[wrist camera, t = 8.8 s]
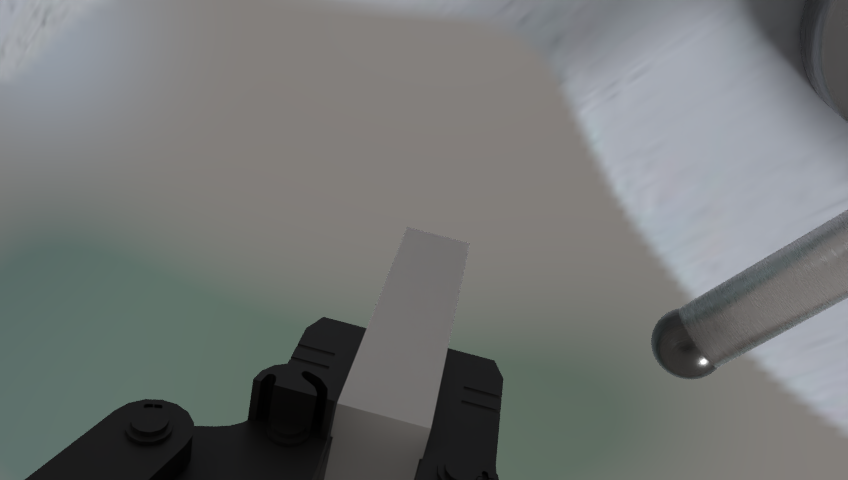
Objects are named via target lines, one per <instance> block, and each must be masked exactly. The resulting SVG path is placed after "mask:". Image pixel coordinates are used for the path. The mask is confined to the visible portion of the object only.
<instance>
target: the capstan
mask: <svg viewBox="0 0 848 480" xmlns="http://www.w3.org/2000/svg"><path fill="white" fill-rule="evenodd" d="M800 45H801V55H802V60H803V64H804V68H805V70H806V73H807V76H808V78H809V80H810V82H811V84H812V86H813V87H814V89H815V91H816V92H817V93H818V95H819V96H820V97H821V98H822V99H823V101H824V102H825V103H826V104H827V105H829V106H830V107H831V108H832V109H833V110H834V111H835V112H836V113H838V114H839V115H840V116H841V117H842V118H843V119H844V120H845V121H847V122H848V0H807V1H806V4H805V7H804V12H803V17H802V21H801V32H800ZM846 298H848V210H846V211H845V212H843V213H841V214H839V215H838V216H836V217H834V218H833V219H831V220H829V221H828V222H826V223H824V224H822V225H821V226H819V227H817V228H816V229H814V230H812V231H810V232H809V233H807V234H805V235H804V236H802V237H800V238H798V239H797V240H795V241H793V242H792V243H790V244H788V245H787V246H785V247H783V248H781V249H780V250H778V251H776V252H775V253H773V254H771V255H769V256H768V257H766V258H764V259H763V260H761V261H759V262H757V263H756V264H754V265H752V266H751V267H749V268H747V269H746V270H744V271H742V272H740V273H739V274H737V275H735V276H734V277H732V278H730V279H728V280H727V281H725V282H723V283H722V284H720V285H718V286H716V287H715V288H713V289H711V290H710V291H708V292H706V293H705V294H703V295H701V296H699V297H698V298H696V299H694V300H693V301H691V302H689V303H687V304H686V305H684V306H682V307H681V308H679V309H675V310H672V311H670V312H668V313H667V314H665V315H664V316H663V317H662V318H661V319H660V320H659V321H658V323H657V324H656V326H655V328H654V330H653V333H652V338H651V345H652V351H653V354H654V356H655V358H656V360H657V362H658V363H659V365H660V366H661V367H662V368H663V369H664V370H666V371H667V372H668V373H670V374H672V375H674V376H676V377H679V378H683V379H698V378H702V377H705V376H707V375H709V374H711V373H712V372H713V371H715V370H716V369H717V368H718V367H720V366H722V365H724V364H725V363H727V362H729V361H731V360H733V359H735V358H737V357H738V356H740V355H742V354H744V353H746V352H748V351H750V350H751V349H753V348H755V347H757V346H759V345H761V344H763V343H765V342H766V341H768V340H770V339H772V338H774V337H776V336H778V335H779V334H781V333H783V332H785V331H787V330H789V329H791V328H792V327H794V326H796V325H798V324H800V323H802V322H804V321H805V320H807V319H809V318H811V317H813V316H815V315H817V314H818V313H820V312H822V311H824V310H826V309H828V308H830V307H831V306H833V305H835V304H837V303H839V302H841V301H843V300H844V299H846Z"/></svg>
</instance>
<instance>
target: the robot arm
mask: <svg viewBox="0 0 848 480" xmlns="http://www.w3.org/2000/svg"><path fill="white" fill-rule="evenodd" d="M469 245H470V243H467V242H463V241H459V240H455V239H451V238H448V237H444V236H440V235H436V234H432V233H428V232H424V231H420V230H417V229H413V228H409V227H407V228H406V231H405V233H404V236H403V238H402V241H401V243H400V246H399V248H398V251H397V254H396V256H395V258H394V261H393V263H392V266H391V269H390V271H389V274H388V276H387V279H386V281H385V284H384V286H383V289H382V291H381V294H380V296H379V299H378V301H377V304H376V307H375V309H374V312H373V314H372V316H371V319H370V321H369V324H368V327H367V328H363V327H359V326H356V325H352V324H348V323H344V322H341V321H337V320H333V319H329V318H326V317H323V318H321V319H320V320H318V321H317V322H315V323H314V324H312V325H310V326H309V327H307V328H306V330H305V332H304V334H303V335H302V337H301V339H300V341H299V343H298V346H297V347H296V349H295V351H294V352H293V354H292V357H291V360H289V362H288V364H281V365H274V366H272V367H269V368H267V369H265V370H262V371H261V372H260V373H259V374H258V375H257V376H256V377H255V378H254V379H253V386H252V393H251V400H250V407H249V416H248V420H247V421H245V422H243V423H239V424H235V425H231V426H218V427H213V426H211V427H209V426H194V422H193V420H192V419H191V417H190V415H189V413H188V412H187V411H186V410H184V409H183V408H181V407H180V406H178V405H177V404H174V403H171V402H167V401H164V400H149V399H145V400H141V401H136V402H132V403H128V404H126V405H124V406H122V407H120V408H119V409H117V410H115V411H113V412H112V413H111V414H110V415H108V416H107V417H106V418H104V419H103V420H102V421H101V422H99V423H98V424H97V425H95V426H94V427H93V428H91V429H90V430H89V431H88V432H86V433H85V434H84V435H82V436H81V437H80V438H78V439H77V440H76V441H74V442H73V443H72V444H71V445H69V446H68V447H67V448H65V449H64V450H63V451H62V452H60V453H59V454H58V455H56V456H55V457H54V458H52V459H51V460H50V461H48V462H47V463H46V464H45V465H43V466H42V467H41V468H40V469H38V470H37V471H35V472H34V473H33V474H32V475H30V476H29V477H28V478H26V479H25V480H499V479H498V475H497V474H496V454H497V444H498V432H499V421H500V409H501V397H502V386H503V377H502V375H501V373H500V371H499V369H498V367H497V365H496V363H495V361H494V360H490V359H486V358H482V357H479V356H475V355H471V354H467V353H464V352H460V351H456V350H452V349H449V348H448V345H449V340H450V336H451V331H452V326H453V321H454V317H455V311H456V306H457V302H458V297H459V293H460V287H461V283H462V278H463V273H464V269H465V264H466V259H467V255H468V250H469Z"/></svg>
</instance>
